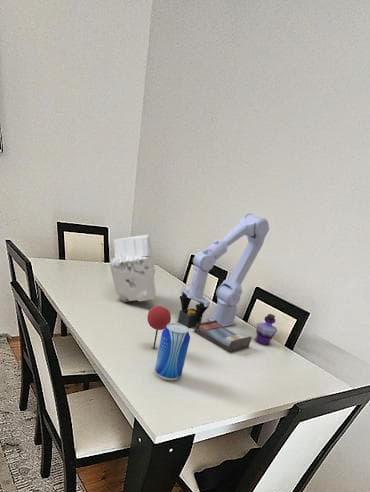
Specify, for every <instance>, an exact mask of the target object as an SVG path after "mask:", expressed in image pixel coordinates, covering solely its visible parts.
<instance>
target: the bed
mask: <svg viewBox="0 0 370 492" xmlns="http://www.w3.org/2000/svg"><path fill="white" fill-rule="evenodd" d="M194 327H195V328H194V333H196V334H197V335H199V336H201V337H202V338H204V339H205V340H208V341H209V342H211V343H213V344H214V345H215V346H218V347H220V348H221V349H222V350H224V351H226V352H228V353H229V354H232V353H234V352H238V351H241V350H245V349H248V348H249V347H250V344H251V342H252V336H250V335H249V336H243V335H241V334H239V333H238V334H236V333H235V332H233V331H231V330H229V329H228V328H226V327H223V326H222V325H221V324H219V323H217V321H216V320H214V321H210V320H208V321H204V322H201V323H198V324H196V326H194Z"/></svg>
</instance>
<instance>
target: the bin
mask: <svg viewBox="0 0 370 492" xmlns="http://www.w3.org/2000/svg"><path fill="white" fill-rule="evenodd" d="M188 310H193V311H195V312H196V308H188ZM188 310H182V309H180V310H179V314H178V319H177V323H178V324H182V325H184V326H186V327H187V328H191V327H196V324H198V323H202V319H203V315H204V314H203V315H202V316H201V318H200V320H199V321H195V315H196V313H195V315H188V314H187V313H188Z"/></svg>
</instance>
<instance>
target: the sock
mask: <svg viewBox="0 0 370 492" xmlns="http://www.w3.org/2000/svg"><path fill="white" fill-rule="evenodd" d="M195 313H196V312H195V311H193V310H188V313H187V314H188V315H195Z"/></svg>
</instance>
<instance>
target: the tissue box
mask: <svg viewBox="0 0 370 492" xmlns="http://www.w3.org/2000/svg"><path fill="white" fill-rule="evenodd" d="M112 241H113V242H112V243H113V252H114V257H111V258H110V263H109V267H110V272H111V276H112V280H113V285H114V288H115V289H114V290H115V293H116V296H118V300H119V301H123V302H124V303H126V302H133V301H138V302H143V301H144V302H146V301H151V300H153V299H154V298H156V295H157V293H156V291H157V290H156V283H155V274H156V267H155V262H154V257H153V256H154V255H153V251H152V244H151V239H150V234H148V233H147V234H141V235H134V236H128V237H120V238H114V239H112Z"/></svg>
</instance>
